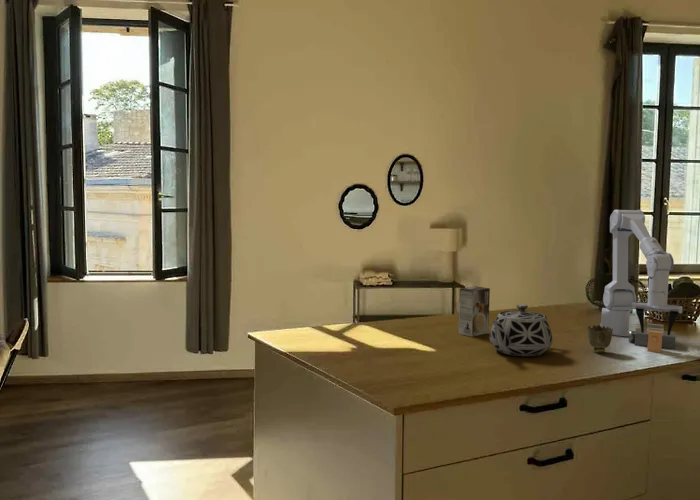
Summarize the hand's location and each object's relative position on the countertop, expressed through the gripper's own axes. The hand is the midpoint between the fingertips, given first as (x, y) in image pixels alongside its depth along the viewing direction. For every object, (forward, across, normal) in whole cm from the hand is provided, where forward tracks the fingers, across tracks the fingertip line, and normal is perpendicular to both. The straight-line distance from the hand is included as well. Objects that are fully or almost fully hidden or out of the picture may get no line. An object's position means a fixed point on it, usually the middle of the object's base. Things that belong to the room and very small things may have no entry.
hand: (655, 333), depth 226 cm
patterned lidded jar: (+6, -39, -23) cm, 46 cm away
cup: (+6, -16, -11) cm, 20 cm away
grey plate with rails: (+6, 0, +10) cm, 11 cm away
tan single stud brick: (+6, 0, 0) cm, 6 cm away
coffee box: (+6, -58, -3) cm, 58 cm away
